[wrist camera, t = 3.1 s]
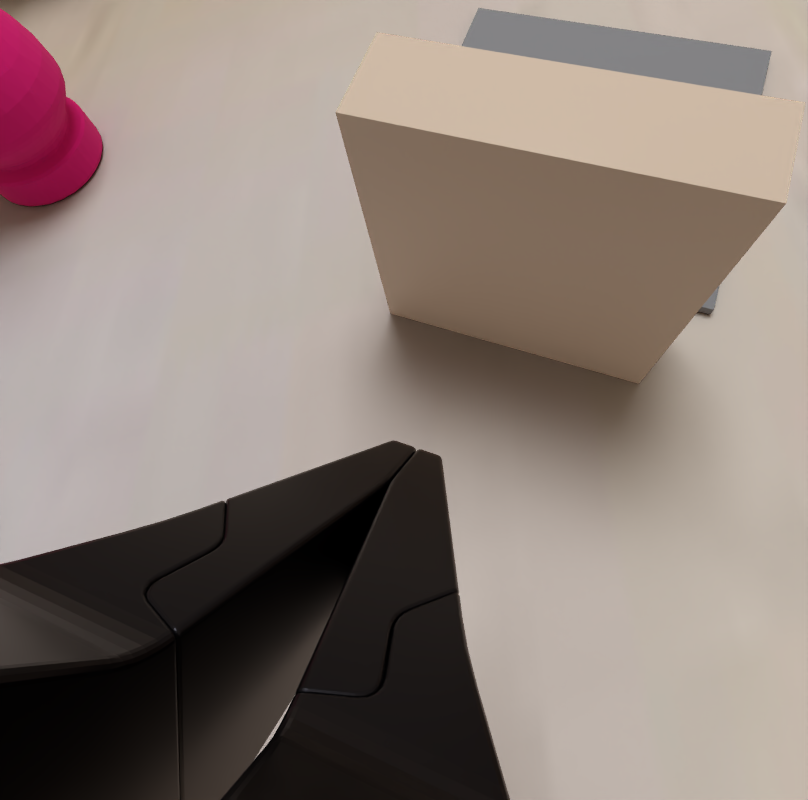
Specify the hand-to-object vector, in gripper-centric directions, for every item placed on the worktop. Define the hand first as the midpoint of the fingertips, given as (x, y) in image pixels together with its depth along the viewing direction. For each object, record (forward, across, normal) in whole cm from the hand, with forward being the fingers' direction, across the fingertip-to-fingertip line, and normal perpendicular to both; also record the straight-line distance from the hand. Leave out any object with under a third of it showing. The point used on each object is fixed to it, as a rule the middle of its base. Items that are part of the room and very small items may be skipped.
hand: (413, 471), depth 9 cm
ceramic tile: (+16, 0, +2) cm, 16 cm away
